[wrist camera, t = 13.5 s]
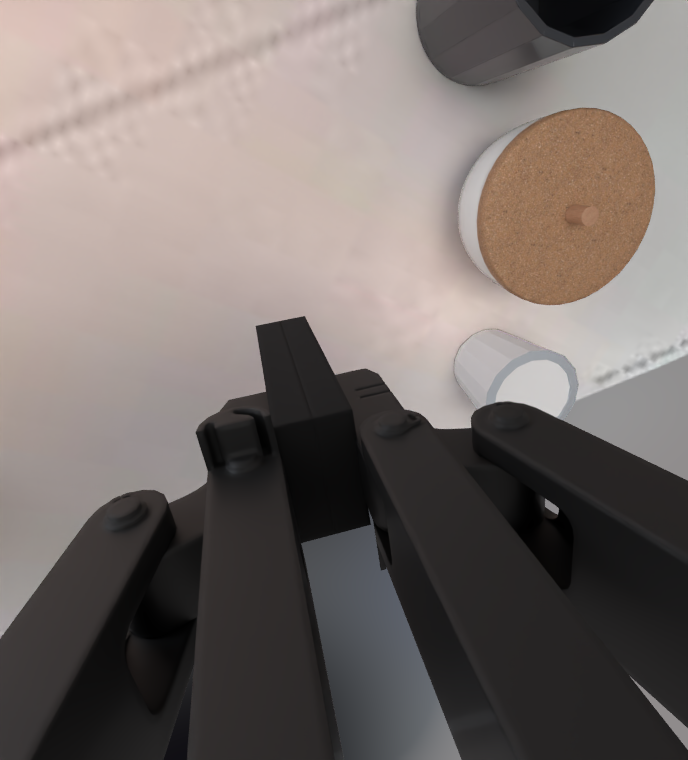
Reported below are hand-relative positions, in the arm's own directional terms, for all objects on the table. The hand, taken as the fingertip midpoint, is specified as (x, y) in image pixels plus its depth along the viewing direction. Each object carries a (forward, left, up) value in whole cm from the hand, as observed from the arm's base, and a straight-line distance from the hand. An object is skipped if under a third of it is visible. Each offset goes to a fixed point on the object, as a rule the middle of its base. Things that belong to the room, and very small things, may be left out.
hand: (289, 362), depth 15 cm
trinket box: (+18, +1, -20) cm, 27 cm away
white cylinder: (+16, -11, -20) cm, 28 cm away
